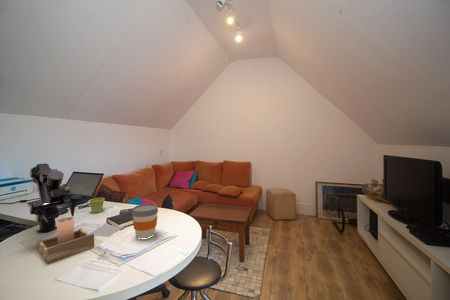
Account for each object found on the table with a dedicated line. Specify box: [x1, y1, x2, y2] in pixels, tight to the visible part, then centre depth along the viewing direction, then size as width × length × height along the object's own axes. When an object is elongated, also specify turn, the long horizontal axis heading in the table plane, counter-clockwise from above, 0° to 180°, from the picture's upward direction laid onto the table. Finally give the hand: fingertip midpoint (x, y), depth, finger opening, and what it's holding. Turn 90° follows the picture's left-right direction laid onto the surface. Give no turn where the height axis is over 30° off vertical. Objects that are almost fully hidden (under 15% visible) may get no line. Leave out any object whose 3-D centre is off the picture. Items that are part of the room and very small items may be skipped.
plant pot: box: [88, 197, 106, 214], centre depth 138 cm, size 9×9×9 cm
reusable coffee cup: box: [131, 203, 159, 239], centre depth 103 cm, size 13×13×15 cm
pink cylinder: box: [56, 216, 75, 245], centre depth 88 cm, size 6×6×13 cm
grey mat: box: [88, 224, 126, 238], centre depth 107 cm, size 13×13×1 cm
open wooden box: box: [36, 228, 95, 265], centre depth 89 cm, size 18×16×7 cm
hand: (61, 218), depth 92 cm, fingers open, 9 cm apart
